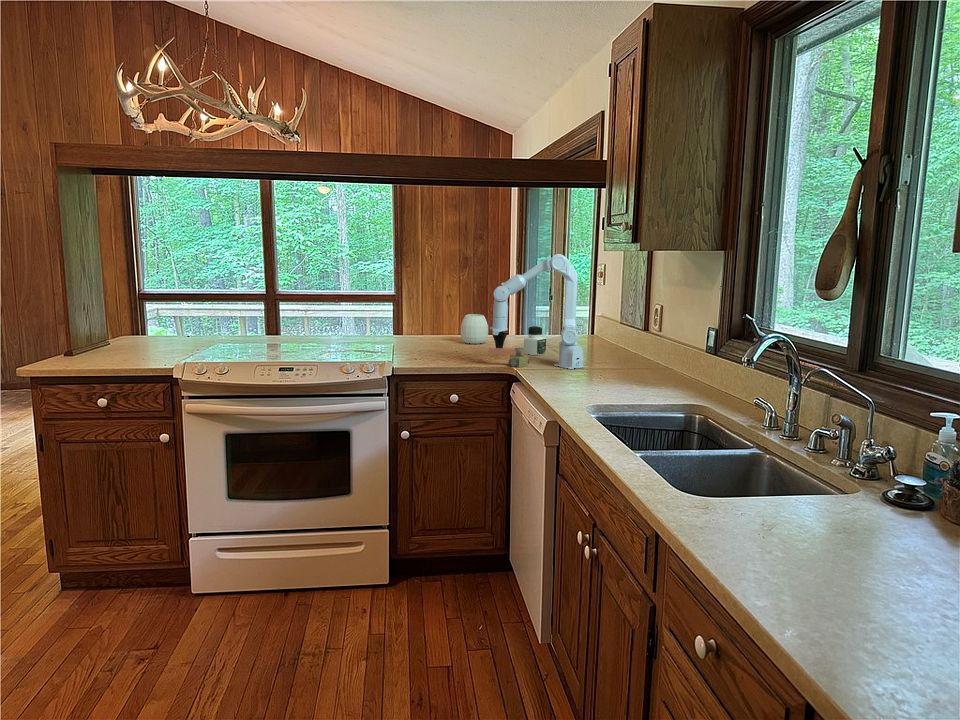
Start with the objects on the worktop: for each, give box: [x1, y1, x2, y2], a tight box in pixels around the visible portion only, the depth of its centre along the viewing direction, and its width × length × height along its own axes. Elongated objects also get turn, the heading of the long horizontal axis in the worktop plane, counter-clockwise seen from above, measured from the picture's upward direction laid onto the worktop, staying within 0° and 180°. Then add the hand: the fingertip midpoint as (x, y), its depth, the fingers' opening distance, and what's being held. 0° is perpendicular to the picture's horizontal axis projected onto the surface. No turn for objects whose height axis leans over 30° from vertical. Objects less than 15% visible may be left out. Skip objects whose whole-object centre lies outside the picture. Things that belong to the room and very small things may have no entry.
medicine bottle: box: [523, 325, 547, 356], centre depth 296 cm, size 7×7×12 cm
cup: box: [460, 313, 489, 345], centre depth 324 cm, size 13×13×14 cm
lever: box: [487, 347, 525, 356], centre depth 268 cm, size 14×3×2 cm, turn 82°
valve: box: [507, 354, 530, 369], centre depth 268 cm, size 6×8×4 cm
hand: (499, 350), depth 270 cm, fingers closed, pressing on lever
